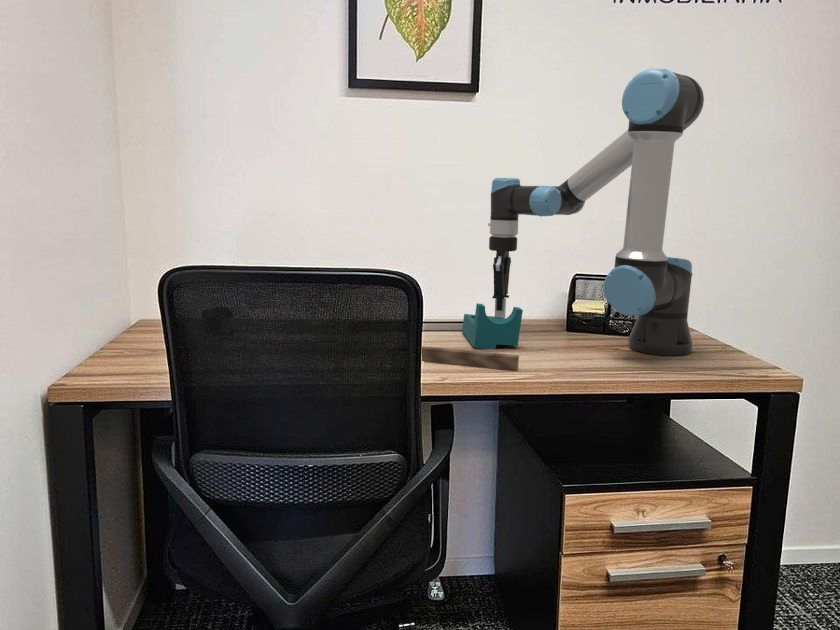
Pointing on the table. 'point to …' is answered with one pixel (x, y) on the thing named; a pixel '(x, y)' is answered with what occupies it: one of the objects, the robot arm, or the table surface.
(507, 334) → the teal notched cradle
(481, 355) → the walnut bar
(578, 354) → the table surface
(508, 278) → the robot arm
